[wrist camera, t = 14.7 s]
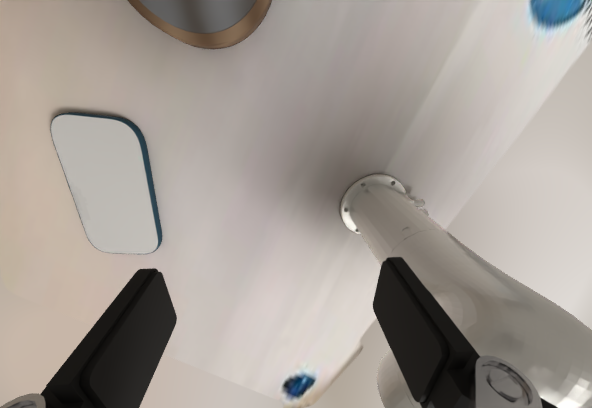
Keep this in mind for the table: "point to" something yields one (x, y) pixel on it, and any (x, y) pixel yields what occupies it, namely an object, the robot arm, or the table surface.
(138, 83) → the table surface
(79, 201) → the external hard drive
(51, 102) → the table surface
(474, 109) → the table surface
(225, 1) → the walnut stand
